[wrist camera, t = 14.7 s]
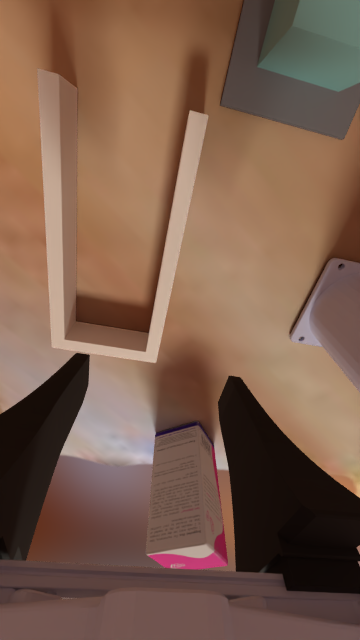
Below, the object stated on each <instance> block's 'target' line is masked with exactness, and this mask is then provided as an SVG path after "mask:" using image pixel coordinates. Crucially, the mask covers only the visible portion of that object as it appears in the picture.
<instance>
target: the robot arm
mask: <svg viewBox="0 0 360 640" xmlns="http://www.w3.org/2000/svg"><path fill="white" fill-rule="evenodd" d="M340 264H342V266H341V267H340V268H338V266H339V265H340ZM300 337H302V338H300ZM299 338H300V339H299ZM290 339H291V341H292V342H296V343H302V344H308V345H314V346H320V347H323V348H324V349H325V350H326V351H327V353H328V354H329V355H330V356H331V358H332V359H333V360H334V361H335V363H336V364H337V365H338V366H339V367H340V369H341V370H342V371H343V372H344V374H345V375H346V376H347V377H348V379H349V380H350V381H351V382H352V383H353V385H354V386H355V387H356V388H357V390H358V391H359V392H360V263H358V262H353V261H349V260H344V259H339V258H332V259H331V260H329V262H328V263H327V265H326V267H325V269H324V271H323V273H322V274H321V276H320V278H319V280H318V282H317V284H316V286H315V288H314V290H313V292H312V294H311V296H310V298H309V299H308V301H307V303H306V305H305V307H304V309H303V311H302V313H301V315H300V317H299V319H298V321H297V323H296V324H295V326H294V328H293V330H292V332H291V334H290ZM89 357H90V355H87V354H80V353H76V354H75V355H74V356H73V357H72V358H71V359H70V360H69V361H68V362H67V363H66V364H64V365H63V366H62V367H61V368H60V369H59V370H58V371H57V372H56V373H55V374H54V375H52V376H51V377H50V378H49V379H48V380H47V381H46V382H44V383H43V384H42V385H41V386H39V387H38V388H37V389H36V390H34V391H33V392H32V393H31V394H29V395H28V396H27V397H25V398H24V399H23V400H21V401H20V402H18V403H17V404H15V405H14V406H12V407H11V408H9V409H8V410H6V411H5V412H3V413H2V414H0V640H360V566H359V564H358V561H360V554H359V552H358V550H357V548H356V547H358V546H359V545H360V498H359V497H358V496H356V495H355V494H354V493H352V492H351V491H349V490H348V489H347V488H345V487H344V486H343V485H341V484H340V483H338V482H337V481H335V480H334V479H333V478H332V477H331V476H330V475H328V474H327V473H326V472H325V471H323V470H322V469H321V468H320V467H319V466H317V465H316V464H315V463H314V462H313V461H312V460H311V459H309V458H308V457H307V456H306V455H305V454H304V453H303V452H302V451H301V450H300V449H299V448H298V447H297V446H296V445H295V444H294V443H293V442H292V441H291V440H290V439H289V438H288V437H287V436H286V435H285V434H284V433H283V432H282V431H281V430H280V429H279V427H278V426H277V425H276V424H275V423H274V422H273V420H272V419H271V418H270V417H269V415H268V414H267V413H266V412H265V410H264V409H263V408H262V407H261V405H260V404H259V403H258V401H257V400H256V399H255V397H254V396H253V394H252V393H251V392H250V390H249V389H248V387H247V386H246V385H245V383H244V382H243V380H242V379H241V378H240V377H235V376H229V377H228V380H227V382H226V384H225V387H224V389H223V392H222V394H221V396H220V399H219V401H218V408H219V421H220V426H221V432H222V437H223V442H224V447H225V451H226V456H227V461H228V467H229V474H230V484H231V493H232V504H233V518H234V534H235V560H236V572H233V571H214V570H195V569H176V568H156V567H155V568H154V567H137V566H118V565H98V564H79V563H58V562H40V561H39V562H38V561H26V558H27V555H28V552H29V548H30V545H31V542H32V538H33V535H34V532H35V528H36V525H37V522H38V519H39V516H40V512H41V509H42V506H43V503H44V500H45V497H46V494H47V491H48V488H49V485H50V482H51V479H52V476H53V473H54V470H55V467H56V464H57V461H58V458H59V455H60V453H61V450H62V448H63V446H64V443H65V441H66V439H67V437H68V434H69V432H70V430H71V428H72V426H73V423H74V421H75V419H76V417H77V415H78V412H79V410H80V408H81V406H82V403H83V400H84V397H85V394H86V391H87V387H88V381H89ZM61 597H65V598H66V597H67V598H68V597H69V598H73V599H62V598H61Z"/></svg>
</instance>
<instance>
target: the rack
mask: <svg viewBox="0 0 360 640" xmlns="http://www.w3.org/2000/svg"><path fill="white" fill-rule="evenodd" d="M37 72H38V91H39V111H40V130H41V149H42V168H43V187H44V206H45V225H46V244H47V263H48V282H49V301H50V321H51V340H52V348H58V349H65V350H72V351H78V352H85V353H92V354H99V355H105V356H112V357H119V358H125V359H132V360H139V361H145V362H152V363H156V361H157V356H158V351H159V346H160V342H161V337H162V332H163V328H164V323H165V318H166V314H167V309H168V304H169V300H170V295H171V290H172V285H173V281H174V276H175V271H176V267H177V262H178V257H179V253H180V248H181V243H182V239H183V234H184V229H185V224H186V220H187V215H188V210H189V206H190V201H191V196H192V192H193V187H194V182H195V178H196V173H197V168H198V163H199V159H200V154H201V149H202V145H203V140H204V135H205V131H206V126H207V121H208V117H209V115H206V114H202V113H198V112H195V111H191V110H190V112H189V115H188V119H187V124H186V130H185V135H184V141H183V147H182V152H181V158H180V163H179V169H178V174H177V180H176V185H175V191H174V196H173V202H172V207H171V213H170V218H169V224H168V230H167V235H166V241H165V246H164V252H163V257H162V263H161V268H160V274H159V279H158V285H157V290H156V296H155V301H154V307H153V313H152V318H151V324H150V329H149V333H145V332H139V331H133V330H127V329H121V328H115V327H108V326H102V325H96V324H90V323H84V322H78V321H76V241H77V91H78V89H77V88H76V87H75V86H74V85H72V84H71V83H70V82H68V81H67V80H66V79H65V78H63V77H62V76H61V75H59V74H57V73H53V72H49V71H46V70H42V69H39V68H37Z"/></svg>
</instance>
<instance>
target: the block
mask: <svg viewBox="0 0 360 640" xmlns="http://www.w3.org/2000/svg"><path fill="white" fill-rule="evenodd" d="M257 67H259V68H263V69H266V70H269V71H272V72H276V73H279V74H282V75H285V76H289V77H292V78H295V79H298V80H302V81H305V82H308V83H311V84H315V85H318V86H321V87H324V88H328V89H331V90H334V91H337V92H339V91H342V90H344V89H346V88H348V87H351V86H353V85H355V84H358V83H360V0H275V2H274V6H273V9H272V13H271V17H270V21H269V24H268V28H267V32H266V35H265V39H264V43H263V47H262V50H261V54H260V58H259V62H258V65H257Z"/></svg>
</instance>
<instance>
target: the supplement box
mask: <svg viewBox="0 0 360 640" xmlns="http://www.w3.org/2000/svg"><path fill="white" fill-rule="evenodd" d="M225 543H226V542H225V534H224V526H223V517H222V509H221V501H220V494H219V485H218V476H217V468H216V460H215V451H214V445H213V443H212V442H211V440H210V439H209V437H208V435H207V434H206V432H205V431H204V429H203V428H202V426H201V425H200V423H199V421H195V422H192V423H188V424H185V425H182V426H179V427H175V428H172V429H168V430H165V431H161V432H158V433H156V435H155V445H154V457H153V470H152V482H151V495H150V508H149V520H148V533H147V545H146V555H148V556H149V557H151V558H152V559H154V560H155V561H157V562H158V563H160V564H161V565H162V566H164V567H165V568H176V569H195V570H198V569H205V568H212V567H220V566H227V565H228V559H227V552H226V544H225Z"/></svg>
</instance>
